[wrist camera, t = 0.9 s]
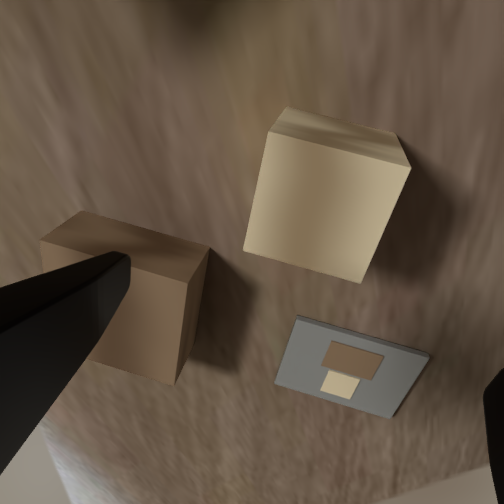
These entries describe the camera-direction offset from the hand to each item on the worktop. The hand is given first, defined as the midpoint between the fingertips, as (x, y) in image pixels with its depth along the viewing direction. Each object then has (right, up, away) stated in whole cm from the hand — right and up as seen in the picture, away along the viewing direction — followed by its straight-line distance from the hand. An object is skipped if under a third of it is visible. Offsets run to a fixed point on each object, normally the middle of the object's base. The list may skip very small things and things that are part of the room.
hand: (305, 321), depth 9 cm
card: (+5, -6, +16) cm, 17 cm away
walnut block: (-8, 0, +16) cm, 18 cm away
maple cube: (+2, +6, +10) cm, 11 cm away
